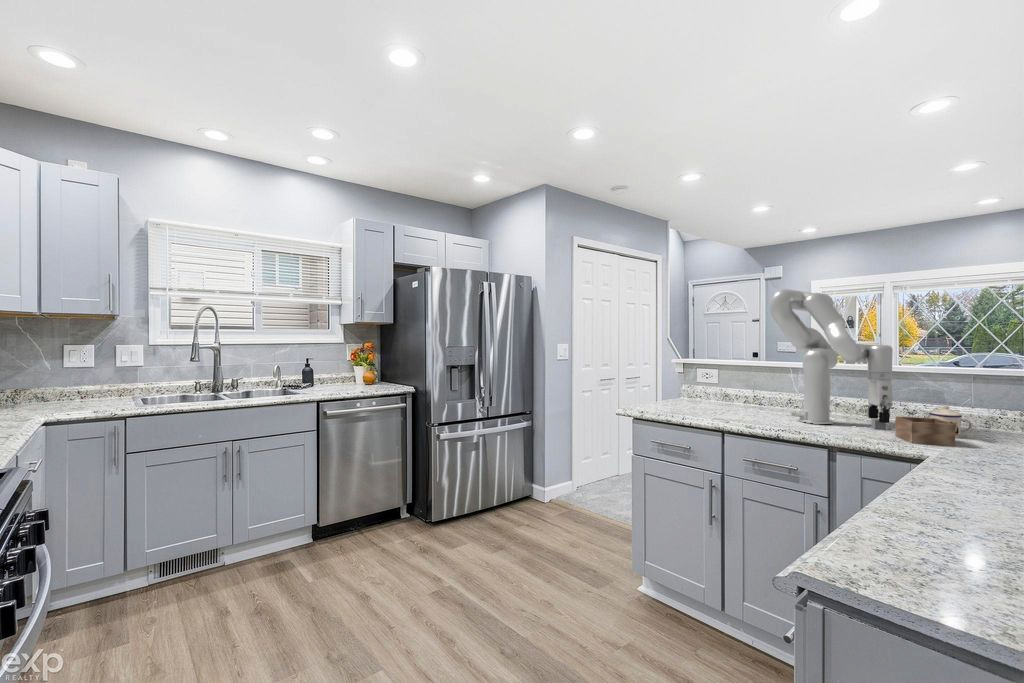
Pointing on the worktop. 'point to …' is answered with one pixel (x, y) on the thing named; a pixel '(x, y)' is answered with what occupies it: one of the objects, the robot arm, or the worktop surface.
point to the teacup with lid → (950, 419)
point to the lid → (877, 425)
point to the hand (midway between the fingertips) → (878, 420)
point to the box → (925, 431)
